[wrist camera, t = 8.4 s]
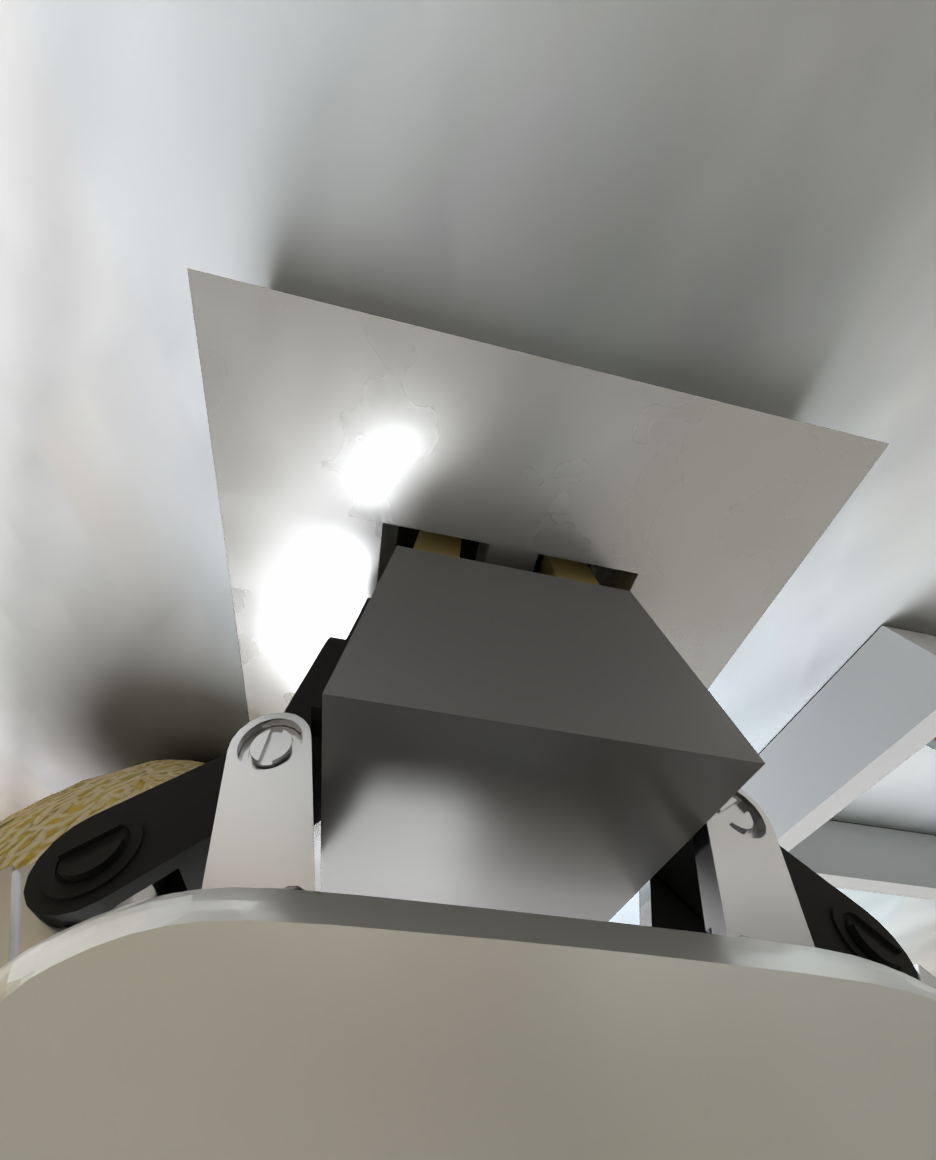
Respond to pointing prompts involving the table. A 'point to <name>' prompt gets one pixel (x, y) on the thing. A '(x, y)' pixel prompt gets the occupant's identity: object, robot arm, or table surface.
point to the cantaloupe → (78, 808)
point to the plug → (514, 741)
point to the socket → (486, 476)
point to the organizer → (855, 767)
